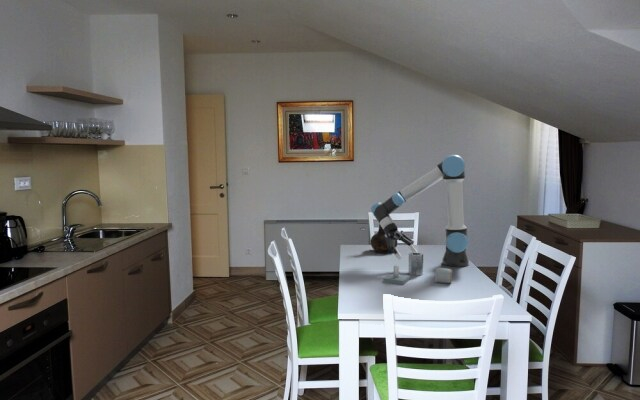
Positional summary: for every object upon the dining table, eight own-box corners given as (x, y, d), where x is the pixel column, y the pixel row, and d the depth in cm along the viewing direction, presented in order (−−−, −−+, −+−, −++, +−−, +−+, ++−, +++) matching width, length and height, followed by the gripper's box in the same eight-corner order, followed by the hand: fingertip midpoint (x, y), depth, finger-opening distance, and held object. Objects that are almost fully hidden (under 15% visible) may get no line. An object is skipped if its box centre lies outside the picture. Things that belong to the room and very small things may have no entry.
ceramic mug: (451, 285, 227) (452, 269, 227) (435, 283, 229) (435, 268, 229) (451, 279, 237) (452, 265, 237) (435, 278, 240) (435, 264, 239)
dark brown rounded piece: (401, 253, 299) (401, 211, 296) (375, 255, 295) (376, 212, 292) (391, 248, 316) (391, 208, 314) (366, 249, 312) (366, 209, 310)
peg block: (410, 279, 238) (410, 264, 237) (403, 284, 228) (403, 269, 227) (389, 276, 243) (390, 262, 242) (382, 282, 233) (382, 266, 232)
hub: (423, 272, 251) (424, 253, 249) (420, 275, 244) (420, 255, 243) (411, 271, 254) (411, 252, 253) (407, 274, 248) (407, 254, 246)
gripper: (399, 227, 271) (419, 257, 261) (370, 232, 256) (389, 263, 246) (406, 220, 266) (426, 249, 256) (377, 224, 251) (397, 255, 241)
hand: (408, 256), depth 251 cm, fingers open, 13 cm apart
